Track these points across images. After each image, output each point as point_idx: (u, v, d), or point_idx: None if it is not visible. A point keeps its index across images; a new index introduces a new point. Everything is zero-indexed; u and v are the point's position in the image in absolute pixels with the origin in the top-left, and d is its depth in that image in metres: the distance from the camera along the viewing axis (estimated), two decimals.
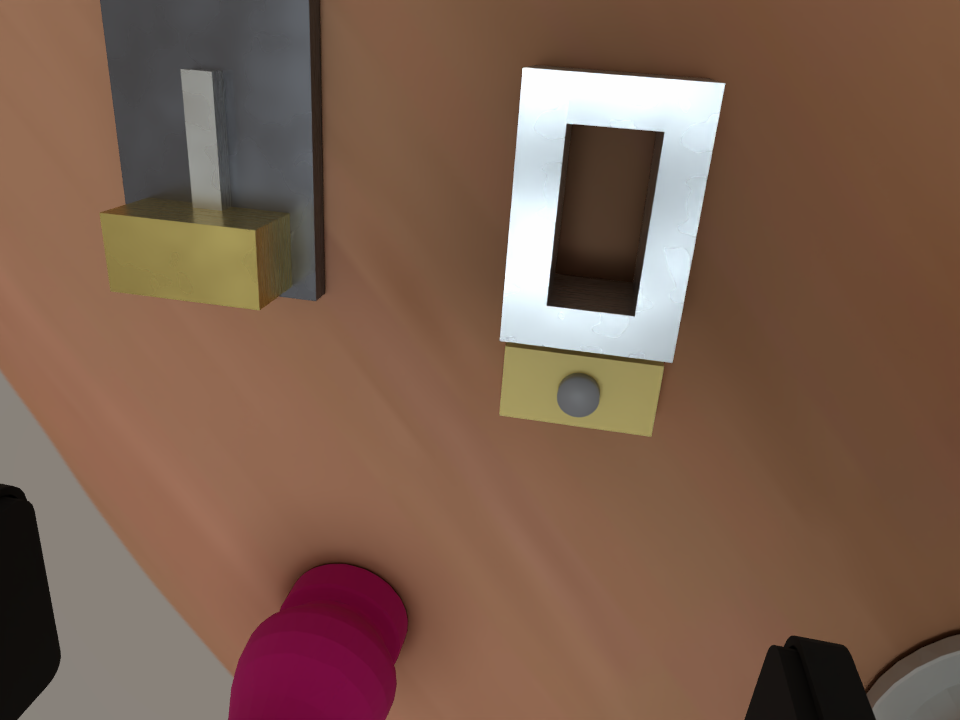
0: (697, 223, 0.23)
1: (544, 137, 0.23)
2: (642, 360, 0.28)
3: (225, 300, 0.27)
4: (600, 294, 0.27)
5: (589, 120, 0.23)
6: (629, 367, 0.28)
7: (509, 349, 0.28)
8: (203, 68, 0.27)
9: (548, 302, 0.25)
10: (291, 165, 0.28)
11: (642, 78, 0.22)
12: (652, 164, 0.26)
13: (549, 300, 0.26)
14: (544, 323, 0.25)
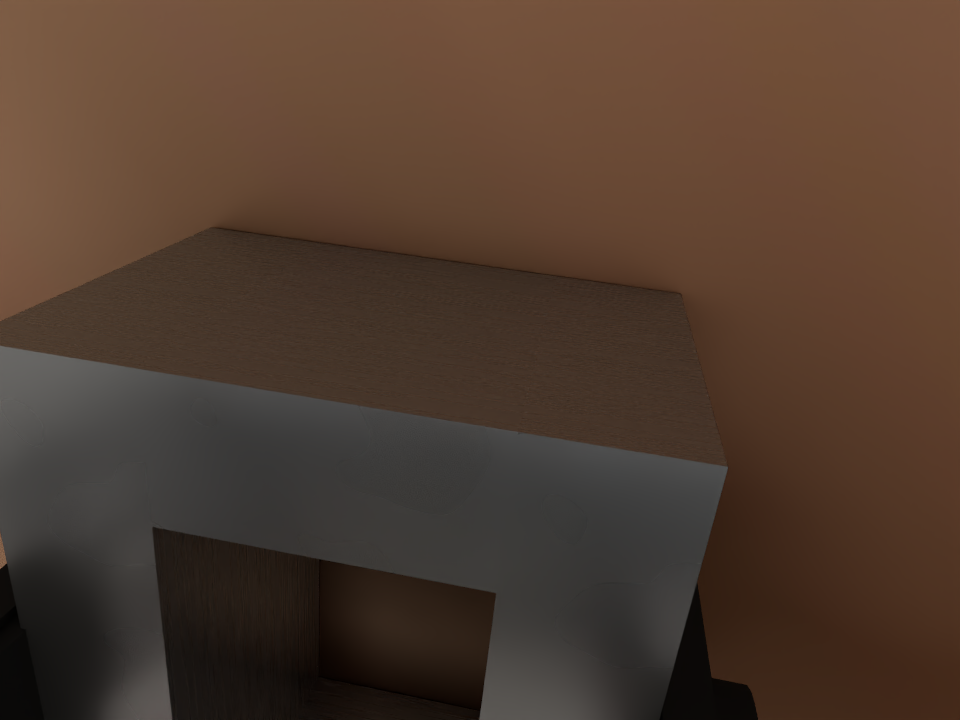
0: None
1: (90, 559, 0.07)
2: None
3: None
4: None
5: (228, 526, 0.06)
6: None
7: None
8: None
9: None
10: None
11: (397, 417, 0.05)
12: None
13: None
14: None
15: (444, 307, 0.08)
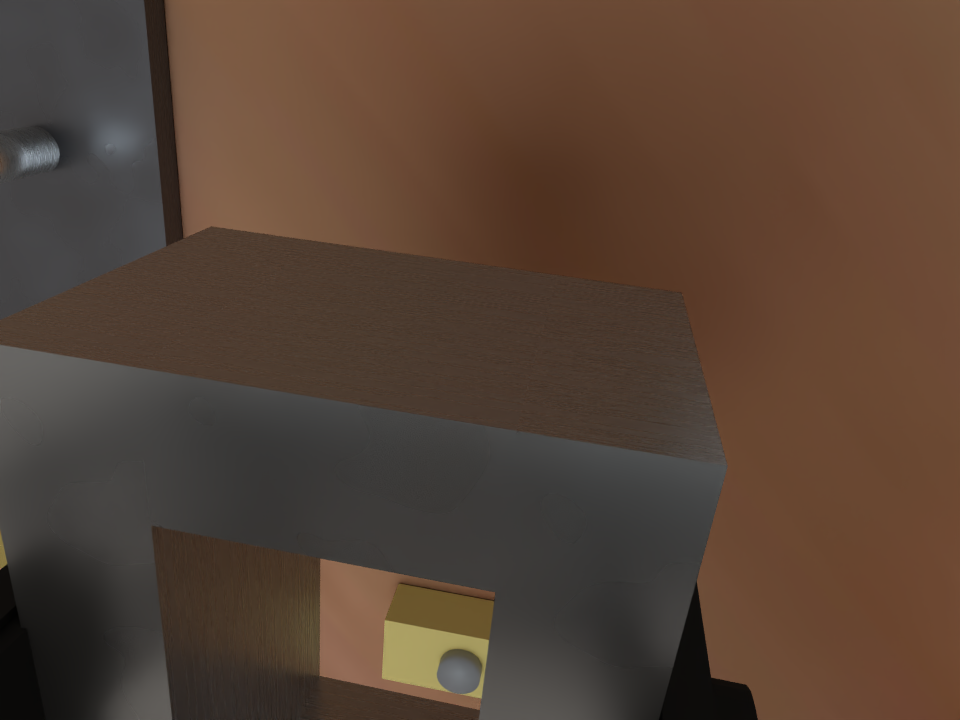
0: None
1: (89, 558, 0.07)
2: None
3: None
4: None
5: (227, 525, 0.06)
6: None
7: (389, 623, 0.27)
8: None
9: None
10: None
11: (396, 416, 0.05)
12: None
13: None
14: None
15: (444, 306, 0.08)
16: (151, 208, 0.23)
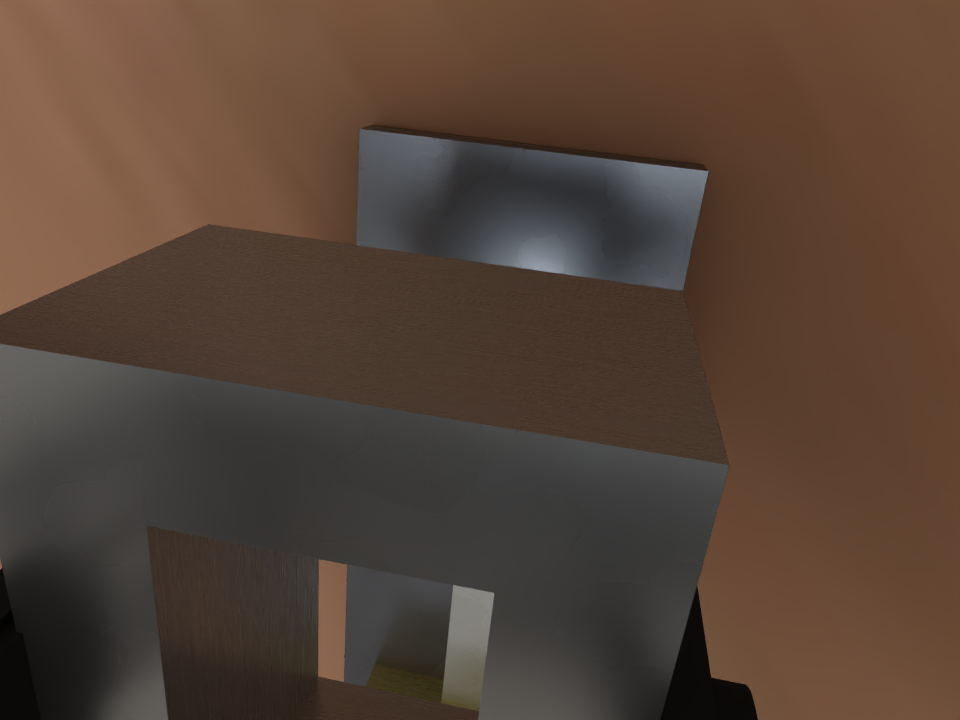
0: None
1: (84, 558, 0.06)
2: None
3: None
4: None
5: (223, 525, 0.06)
6: None
7: None
8: None
9: None
10: None
11: (394, 414, 0.05)
12: None
13: None
14: None
15: (442, 304, 0.07)
16: None
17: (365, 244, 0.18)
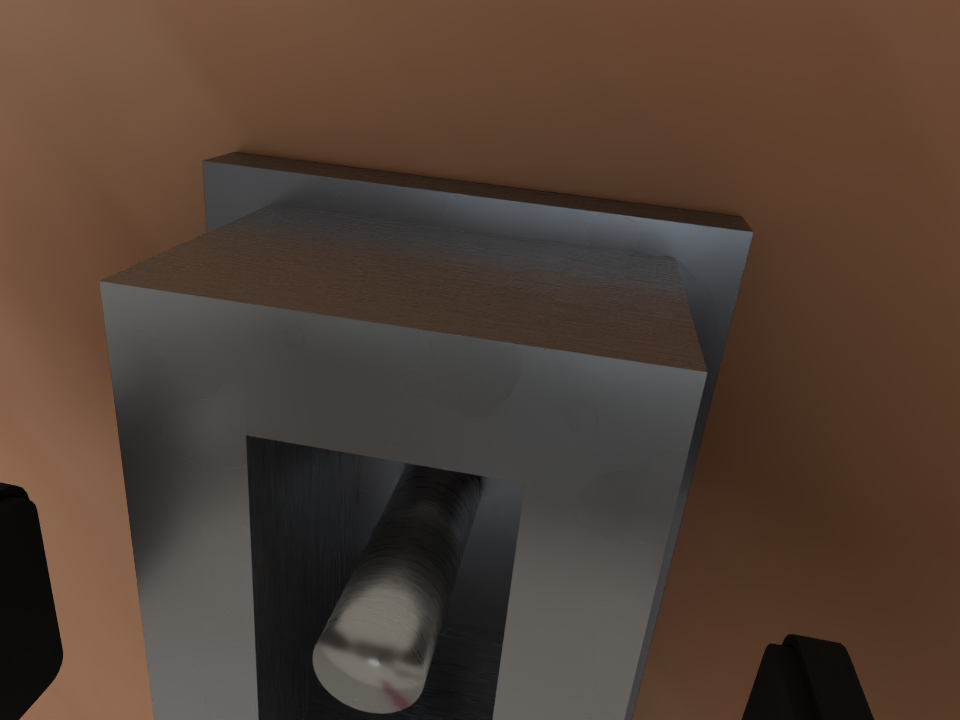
0: (626, 703, 0.08)
1: (193, 464, 0.08)
2: None
3: None
4: None
5: (309, 433, 0.08)
6: None
7: None
8: None
9: None
10: None
11: (449, 338, 0.07)
12: None
13: None
14: None
15: (476, 265, 0.09)
16: None
17: None
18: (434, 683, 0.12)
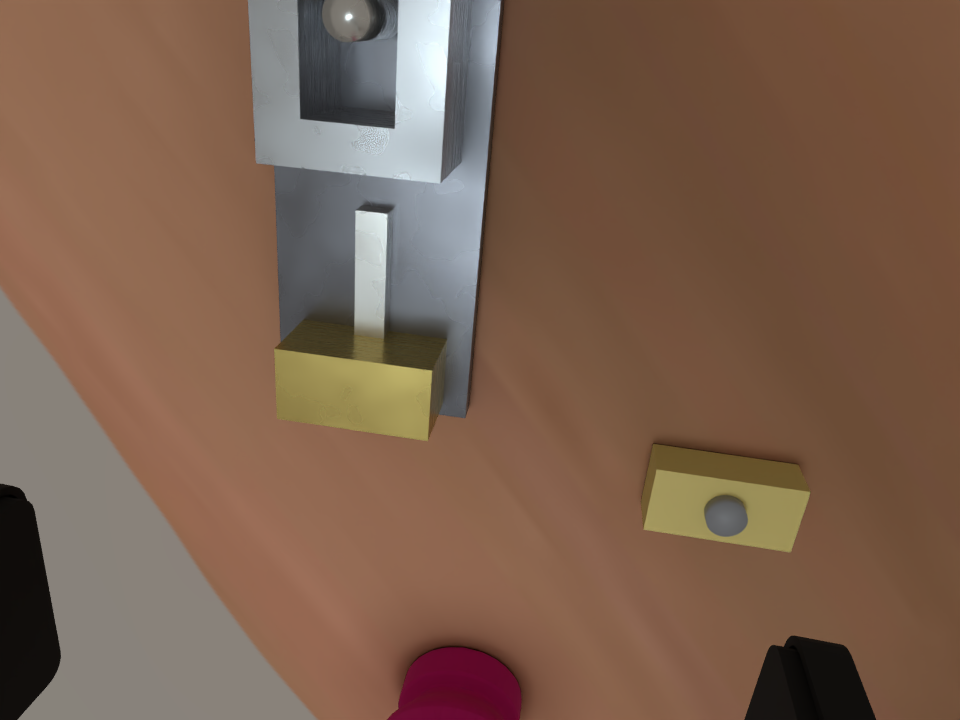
0: (449, 12, 0.21)
1: None
2: (788, 484, 0.29)
3: (394, 431, 0.28)
4: (374, 117, 0.24)
5: None
6: (776, 492, 0.29)
7: (660, 472, 0.29)
8: (373, 205, 0.28)
9: (306, 117, 0.23)
10: (453, 296, 0.29)
11: None
12: None
13: (309, 117, 0.23)
14: (300, 140, 0.23)
15: None
16: (483, 71, 0.25)
17: None
18: (381, 115, 0.25)
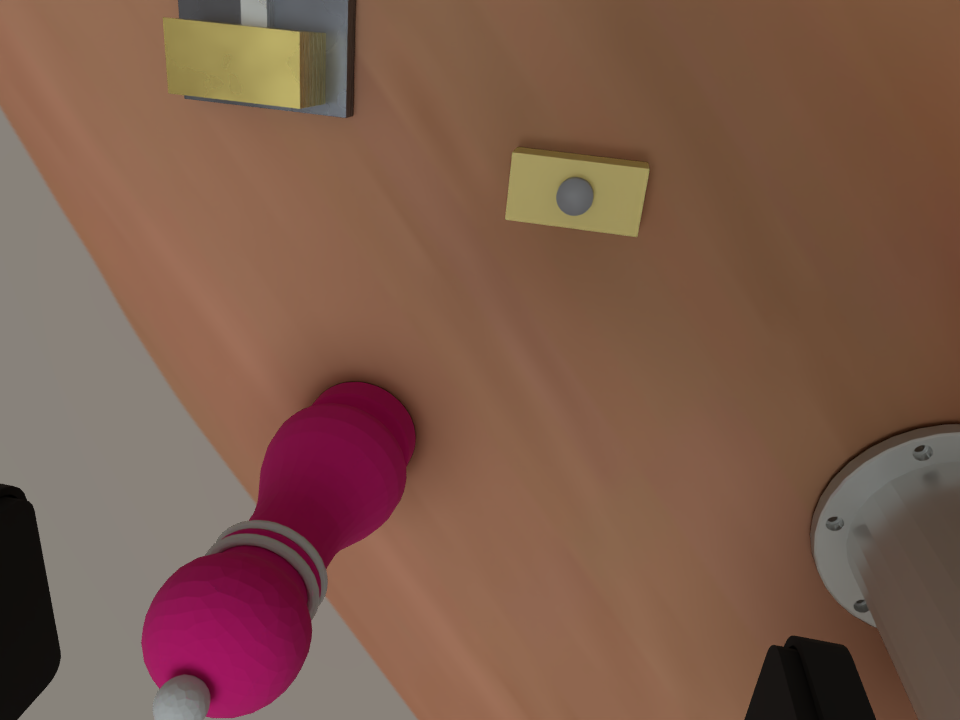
0: None
1: None
2: (631, 165, 0.32)
3: (270, 100, 0.31)
4: None
5: None
6: (619, 170, 0.32)
7: (515, 155, 0.32)
8: None
9: None
10: None
11: None
12: None
13: None
14: None
15: None
16: None
17: None
18: None
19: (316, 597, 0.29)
